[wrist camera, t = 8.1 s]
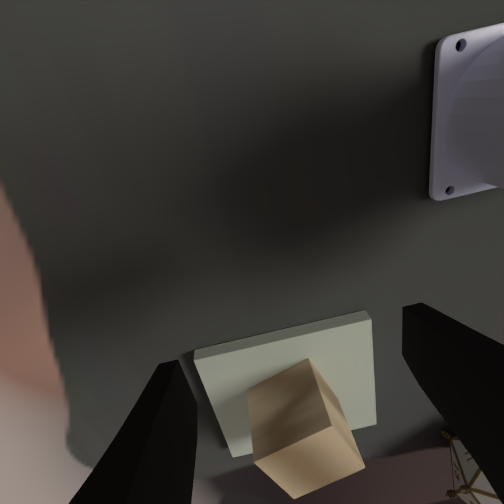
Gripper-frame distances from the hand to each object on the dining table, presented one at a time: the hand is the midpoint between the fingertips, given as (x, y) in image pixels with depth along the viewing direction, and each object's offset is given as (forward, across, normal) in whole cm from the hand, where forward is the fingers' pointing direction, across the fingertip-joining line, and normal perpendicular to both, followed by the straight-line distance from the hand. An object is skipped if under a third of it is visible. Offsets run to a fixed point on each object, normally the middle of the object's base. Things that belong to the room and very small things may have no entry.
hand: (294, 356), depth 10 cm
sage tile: (+9, 0, +12) cm, 16 cm away
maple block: (+8, 0, +12) cm, 15 cm away
